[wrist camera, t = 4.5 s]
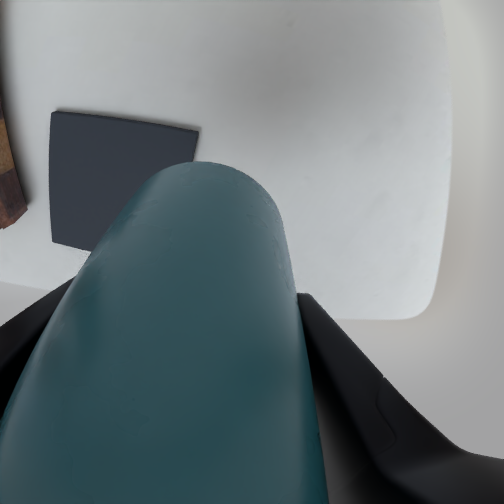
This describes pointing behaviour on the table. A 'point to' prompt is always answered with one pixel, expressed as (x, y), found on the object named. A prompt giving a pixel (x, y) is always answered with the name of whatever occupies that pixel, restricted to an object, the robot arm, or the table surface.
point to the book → (8, 182)
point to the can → (172, 361)
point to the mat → (104, 169)
